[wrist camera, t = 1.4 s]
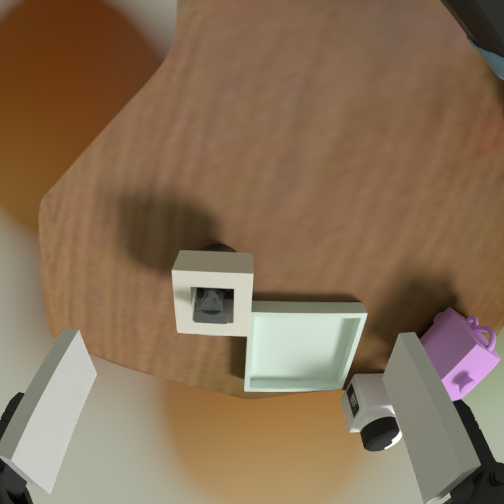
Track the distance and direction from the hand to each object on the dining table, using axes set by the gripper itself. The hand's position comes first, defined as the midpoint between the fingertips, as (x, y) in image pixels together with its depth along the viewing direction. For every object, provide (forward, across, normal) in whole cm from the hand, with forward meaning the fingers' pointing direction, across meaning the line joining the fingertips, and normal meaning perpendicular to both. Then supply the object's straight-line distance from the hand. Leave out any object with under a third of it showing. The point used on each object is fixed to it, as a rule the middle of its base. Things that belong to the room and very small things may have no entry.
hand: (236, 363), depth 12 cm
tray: (+26, +8, -24) cm, 36 cm away
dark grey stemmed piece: (+26, -3, -10) cm, 29 cm away
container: (+27, +22, -35) cm, 49 cm away
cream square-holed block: (+22, -3, -10) cm, 25 cm away
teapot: (+27, +32, -26) cm, 49 cm away
